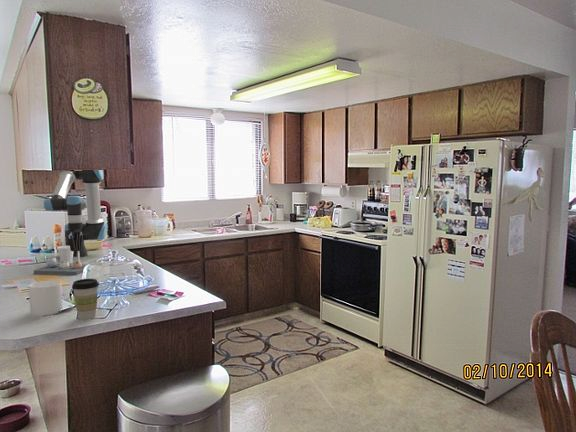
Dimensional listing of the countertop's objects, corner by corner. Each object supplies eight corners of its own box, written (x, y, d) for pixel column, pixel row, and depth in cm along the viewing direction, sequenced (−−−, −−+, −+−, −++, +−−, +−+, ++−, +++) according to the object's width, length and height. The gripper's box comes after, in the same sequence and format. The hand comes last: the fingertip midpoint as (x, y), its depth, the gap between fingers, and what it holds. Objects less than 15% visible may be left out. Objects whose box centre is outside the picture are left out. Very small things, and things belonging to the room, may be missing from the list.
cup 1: (54, 305, 184) (52, 278, 182) (67, 310, 177) (66, 283, 176) (25, 312, 174) (23, 284, 173) (38, 318, 167) (36, 289, 166)
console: (54, 266, 256) (53, 263, 256) (94, 267, 254) (94, 264, 254) (33, 273, 239) (33, 270, 238) (76, 275, 236) (76, 271, 236)
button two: (63, 268, 249) (63, 261, 248) (71, 269, 248) (70, 261, 248) (58, 270, 244) (57, 262, 244) (66, 270, 244) (65, 263, 243)
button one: (50, 265, 249) (50, 257, 249) (58, 265, 249) (57, 257, 248) (45, 266, 245) (44, 259, 244) (53, 267, 244) (52, 259, 244)
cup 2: (78, 262, 268) (77, 245, 267) (69, 265, 259) (68, 248, 257) (64, 262, 269) (63, 245, 268) (54, 265, 260) (53, 248, 258)
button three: (76, 269, 248) (75, 261, 248) (83, 269, 248) (83, 261, 247) (71, 270, 243) (70, 263, 243) (79, 271, 243) (78, 263, 242)
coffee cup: (88, 322, 163) (86, 285, 161) (67, 320, 165) (65, 283, 164) (105, 314, 172) (104, 279, 170) (86, 312, 175) (84, 277, 173)
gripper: (75, 220, 249) (77, 259, 252) (61, 223, 236) (64, 264, 239) (87, 221, 248) (89, 259, 251) (74, 223, 236) (76, 264, 238)
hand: (77, 261), depth 245 cm, fingers closed
